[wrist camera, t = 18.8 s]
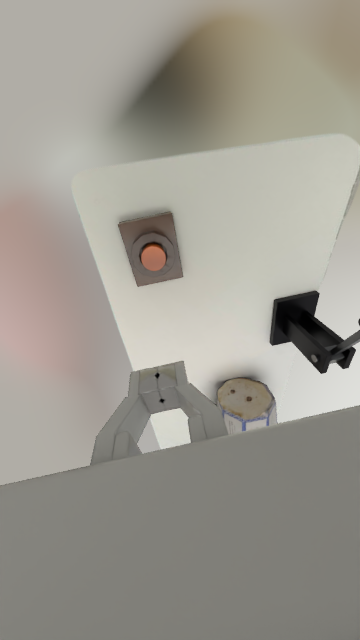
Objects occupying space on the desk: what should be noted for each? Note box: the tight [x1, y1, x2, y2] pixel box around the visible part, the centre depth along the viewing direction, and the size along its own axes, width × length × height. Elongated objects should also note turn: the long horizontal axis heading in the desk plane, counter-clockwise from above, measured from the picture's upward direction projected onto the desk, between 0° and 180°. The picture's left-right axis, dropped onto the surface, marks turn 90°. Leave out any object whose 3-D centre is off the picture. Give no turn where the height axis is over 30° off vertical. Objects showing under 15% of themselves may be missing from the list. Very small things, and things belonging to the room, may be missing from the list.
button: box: [141, 244, 166, 271], centre depth 30 cm, size 4×4×2 cm
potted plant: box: [217, 378, 278, 434], centre depth 55 cm, size 18×18×30 cm
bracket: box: [270, 291, 356, 374], centre depth 40 cm, size 12×9×14 cm
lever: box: [325, 319, 360, 364], centre depth 31 cm, size 15×6×2 cm, turn 10°
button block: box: [118, 212, 183, 287], centre depth 32 cm, size 10×8×4 cm
